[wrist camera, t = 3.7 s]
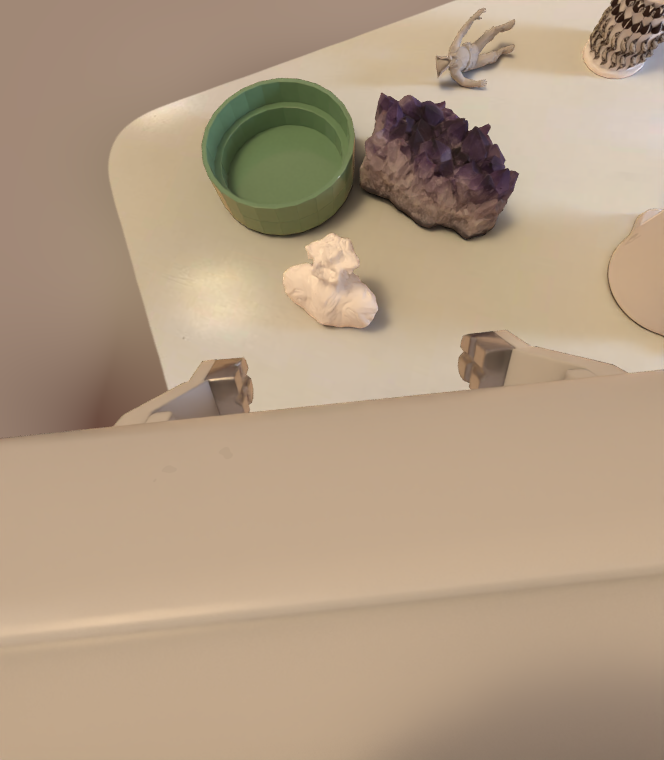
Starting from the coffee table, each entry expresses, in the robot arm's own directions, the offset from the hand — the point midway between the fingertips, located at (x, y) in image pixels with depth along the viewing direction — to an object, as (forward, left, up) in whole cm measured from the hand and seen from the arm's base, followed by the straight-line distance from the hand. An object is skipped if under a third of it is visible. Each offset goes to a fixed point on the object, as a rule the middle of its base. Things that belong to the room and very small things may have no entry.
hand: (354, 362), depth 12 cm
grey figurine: (-25, -47, -26) cm, 59 cm away
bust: (0, -14, -26) cm, 30 cm away
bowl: (+4, -34, -26) cm, 43 cm away
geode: (-15, -28, -26) cm, 41 cm away
